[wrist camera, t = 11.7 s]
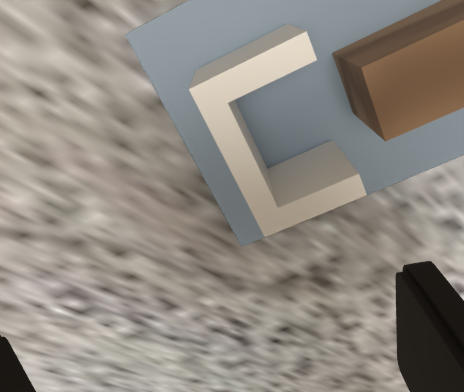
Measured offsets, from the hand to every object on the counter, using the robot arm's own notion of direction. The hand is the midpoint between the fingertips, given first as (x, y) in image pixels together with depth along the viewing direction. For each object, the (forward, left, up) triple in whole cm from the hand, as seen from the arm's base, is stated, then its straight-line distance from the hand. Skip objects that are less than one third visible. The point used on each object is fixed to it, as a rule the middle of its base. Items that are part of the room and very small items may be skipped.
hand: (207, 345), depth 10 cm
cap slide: (0, -4, -15) cm, 15 cm away
